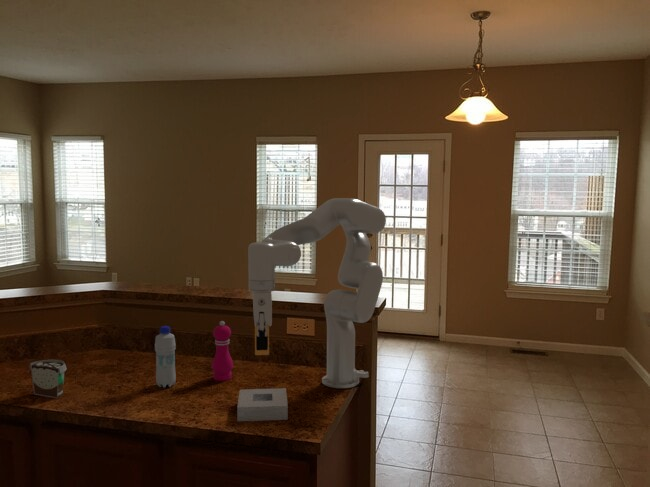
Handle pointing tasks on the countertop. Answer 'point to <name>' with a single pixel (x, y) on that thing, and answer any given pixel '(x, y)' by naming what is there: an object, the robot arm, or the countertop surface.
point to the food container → (48, 377)
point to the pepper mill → (222, 353)
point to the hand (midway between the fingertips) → (262, 346)
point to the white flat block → (262, 405)
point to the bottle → (165, 357)
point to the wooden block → (266, 352)
